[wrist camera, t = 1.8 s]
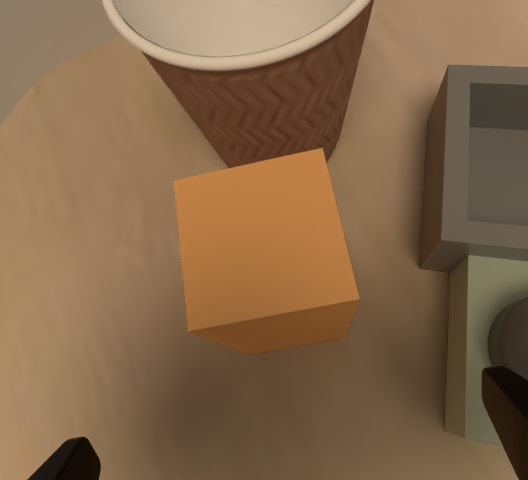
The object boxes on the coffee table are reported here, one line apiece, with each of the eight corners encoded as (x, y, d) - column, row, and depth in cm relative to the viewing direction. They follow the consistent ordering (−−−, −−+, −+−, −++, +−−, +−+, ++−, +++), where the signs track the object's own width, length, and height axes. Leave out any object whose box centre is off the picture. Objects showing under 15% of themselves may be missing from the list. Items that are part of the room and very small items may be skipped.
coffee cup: (401, 120, 25) (462, -102, 13) (288, 251, 23) (250, 122, 12) (270, 44, 28) (231, -186, 17) (163, 153, 26) (41, -20, 15)
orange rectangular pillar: (345, 337, 21) (359, 299, 12) (249, 355, 21) (188, 331, 12) (324, 245, 23) (322, 147, 13) (235, 263, 23) (173, 180, 14)
